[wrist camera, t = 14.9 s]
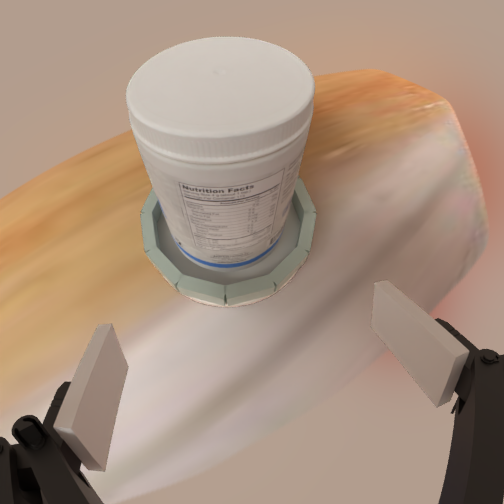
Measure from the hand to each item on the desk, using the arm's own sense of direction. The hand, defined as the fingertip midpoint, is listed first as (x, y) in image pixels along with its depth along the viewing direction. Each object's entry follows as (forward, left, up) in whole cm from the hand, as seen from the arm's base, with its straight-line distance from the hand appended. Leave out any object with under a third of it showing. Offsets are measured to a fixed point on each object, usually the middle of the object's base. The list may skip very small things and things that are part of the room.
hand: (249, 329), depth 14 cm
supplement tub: (-4, +10, -8) cm, 14 cm away
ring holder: (-4, +10, -9) cm, 14 cm away
